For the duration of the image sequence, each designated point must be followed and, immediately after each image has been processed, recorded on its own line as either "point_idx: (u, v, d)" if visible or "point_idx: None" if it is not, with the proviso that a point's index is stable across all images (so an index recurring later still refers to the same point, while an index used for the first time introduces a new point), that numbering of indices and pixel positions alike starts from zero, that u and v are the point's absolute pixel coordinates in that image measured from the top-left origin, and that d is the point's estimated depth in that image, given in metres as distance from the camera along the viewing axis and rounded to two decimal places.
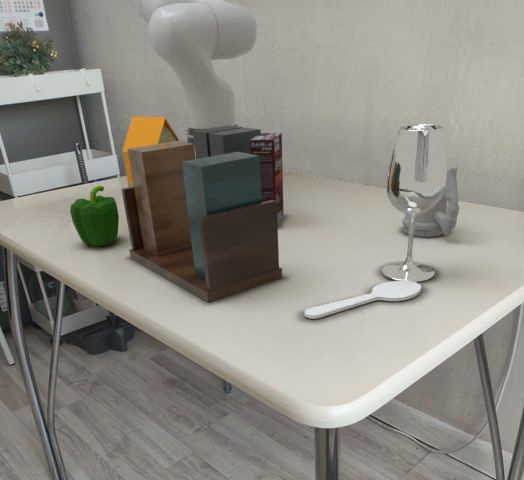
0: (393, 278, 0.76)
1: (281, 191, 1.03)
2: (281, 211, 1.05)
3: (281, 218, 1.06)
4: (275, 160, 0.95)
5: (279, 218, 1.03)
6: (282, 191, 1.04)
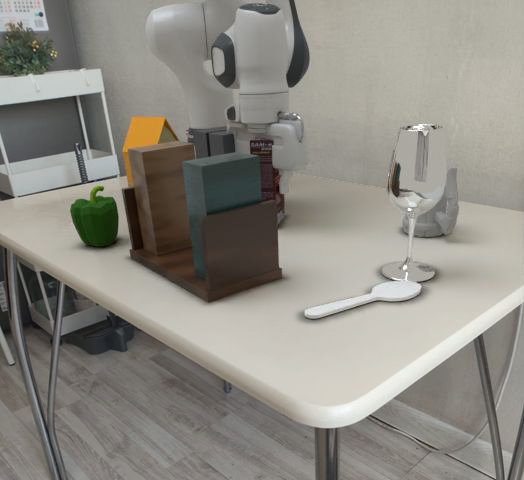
0: (393, 278, 0.76)
1: None
2: (282, 211, 1.05)
3: (282, 218, 1.06)
4: None
5: (279, 218, 1.03)
6: None
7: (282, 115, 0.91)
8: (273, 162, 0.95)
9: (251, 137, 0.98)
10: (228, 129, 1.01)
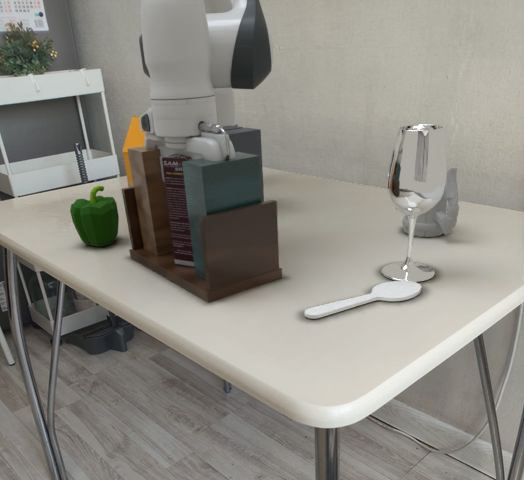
0: (393, 278, 0.76)
1: None
2: None
3: None
4: None
5: None
6: None
7: (203, 127, 0.70)
8: None
9: (171, 153, 0.77)
10: (146, 142, 0.81)
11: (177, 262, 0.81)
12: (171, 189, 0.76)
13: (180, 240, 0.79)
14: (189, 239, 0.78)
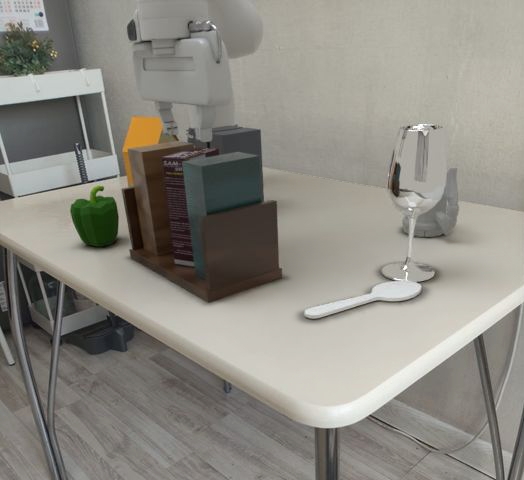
0: (393, 278, 0.76)
1: None
2: None
3: None
4: None
5: None
6: None
7: (193, 26, 0.64)
8: (186, 96, 0.69)
9: (160, 64, 0.72)
10: (133, 56, 0.75)
11: (177, 262, 0.81)
12: (171, 189, 0.76)
13: (180, 240, 0.79)
14: (189, 239, 0.78)
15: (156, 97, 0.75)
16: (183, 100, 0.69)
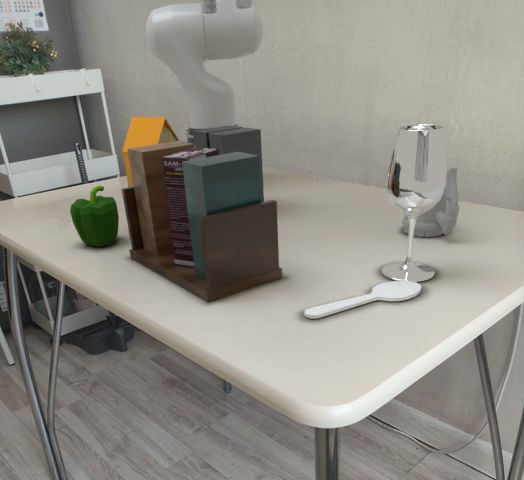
0: (393, 278, 0.76)
1: None
2: None
3: None
4: None
5: None
6: None
7: None
8: None
9: None
10: None
11: (177, 262, 0.81)
12: (171, 189, 0.76)
13: (180, 240, 0.79)
14: (189, 239, 0.78)
15: None
16: None
